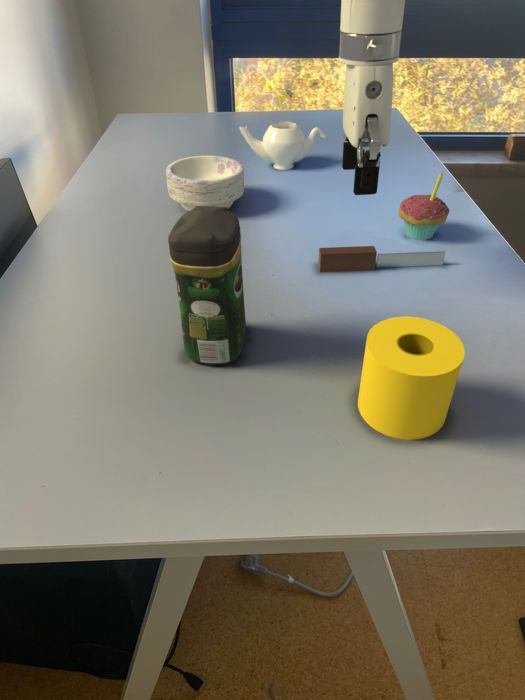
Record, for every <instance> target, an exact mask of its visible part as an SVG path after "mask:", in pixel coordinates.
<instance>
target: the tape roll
mask: <svg viewBox="0 0 525 700" xmlns="http://www.w3.org/2000/svg"><path fill="white" fill-rule="evenodd" d="M465 356H466V351H465V346H464V344H463V342H462V340H461V339H460V337H459V336H458V335H457V334H456V333H455V332H454V331H452V330H451V329H450V328H448V327H447V326H445V325H443V324H441V323H439V322H436V321H434V320H431V319H427V318H423V317H417V316H395V317H390V318H389V317H388V318H386V319H383V320H381V321H378V322H376V324H374V325H373V326H372V327H371V328H370V329H369V331H368V333H367V335H366V341H365V350H364V355H363V363H362V368H361V369H362V370H361V376H360V384H359V390H358V398H357V407H358V408H357V409H358V412H359V414H360V415H361V417H362V419H363V420H364V421H365V422H366V424H368V425H369V426H370V427H372V429H374V430H375V431H376V432H379V433H381V434H383V435H384V436H386V437H390V438H394V439H398V440H404V441H405V440H406V441H409V440H410V441H413V440H421V439H425V438H428V437H430V436H433V435H434V434H436V433H437V432H439V431H440V429H441V428H442V427H443V426H444V424H445V422H446V419H447V415H448V412H449V409H450V405H451V401H452V398H453V396H454V392H455V388H456V385H457V382H458V379H459V375H460V372H461V369H462V366H463V365H462V364H463V361H464V359H465Z"/></svg>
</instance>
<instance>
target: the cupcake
mask: <svg viewBox="0 0 525 700" xmlns="http://www.w3.org/2000/svg"><path fill="white" fill-rule="evenodd" d="M444 173H445V170H443V171H442V172H441V173H440V174H439V175H438V177H437V179H436V182H435V184H434V188H433V191H432V192H431V194H415V195H414V194H413V195H411V196H409V197H407V198H405V199H404V200H403V201H401V202H400V204H399V206H398V217H399V218H400V219H401V220H403V223H404V228H405V229H404V230H405V235H406V236H407V237H408V238H410V239H413V240H416V241H425V240H426V241H427V240H430V239H432V238H433V237H434V235H435V233H436V231H437V230H438V228H439V226H440V225H442V224H444V223H445V222H446V221H447V218H448V216H449V214H450V211H451V209H450V208H449V206H448V205H447V203H446V202H445V201H443V199H441V198H440V197H439V196H437V193H438V191H439V188H440V185H441V183H442V181H443V177H444V176H443V174H444Z"/></svg>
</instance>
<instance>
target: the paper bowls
mask: <svg viewBox="0 0 525 700" xmlns="http://www.w3.org/2000/svg"><path fill="white" fill-rule="evenodd" d="M244 170H245V169H244V166H243V165H242V162H239V161H238V160H236V159H233V158H230V157H227V156H222V155H221V156H220V155H208V154H207V155H195V156H188V157H183V158H179V159H176V160H175V161H173V162H171V163H170V164H168V165H167V167H166V168H165V176H166V186H167V191H168V196H169V197H170V198H171V199H172V200H174V201H175V202H177V203H179V204H180V205H181V207H182V208H183V209H184V210H186V211H187V212H189V211H190V210H192V209H193V208H194V207H195V206H214V207H226V208H228V209H230V208H231V207H232V205H233V204H234V203H235V201H236V200H238V199H239V198H241V197H242V196H243V195H244V192H245V171H244Z"/></svg>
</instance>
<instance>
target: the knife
mask: <svg viewBox="0 0 525 700" xmlns="http://www.w3.org/2000/svg"><path fill="white" fill-rule="evenodd" d="M445 256H446V251H444V250H440V251H415V252H413V251H412V252H388V253H386V252H385V253H378V252H377V249H376V247H375V245H361V246H336V247H335V246H334V247H333V246H331V247H330V246H329V247H319V248H318V261H317V268H318V271H319V273H340V272H342V273H343V272H364V271H365V272H366V271H370V272H371V271H376V270H375V269H376V268H400V267H405V268H406V267H426V266H427V267H428V266H429V267H430V266H443V265H444V261H445Z"/></svg>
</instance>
